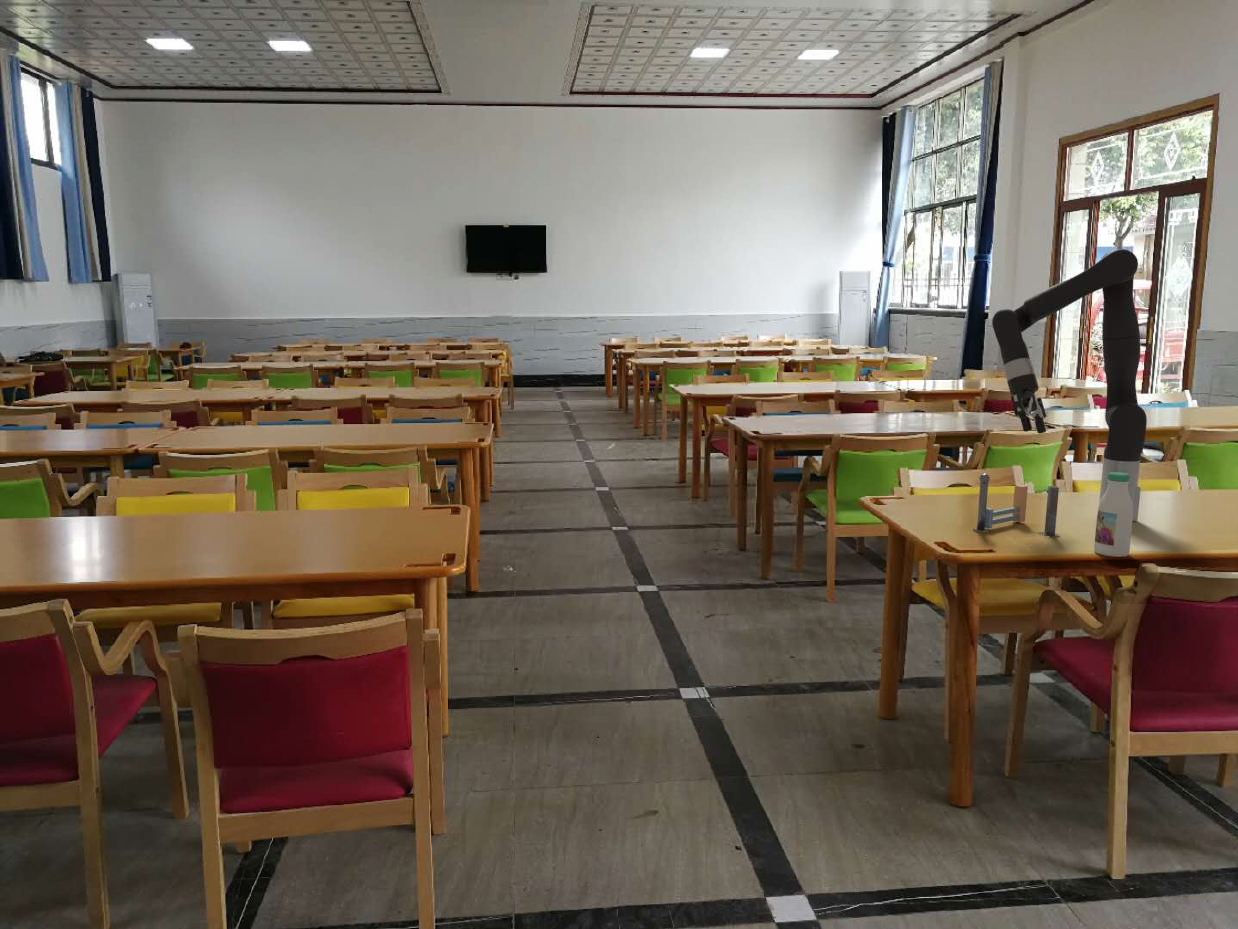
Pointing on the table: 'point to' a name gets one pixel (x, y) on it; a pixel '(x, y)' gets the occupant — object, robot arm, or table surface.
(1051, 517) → the post
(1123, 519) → the milk bottle
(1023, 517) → the gate
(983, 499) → the hinge post
